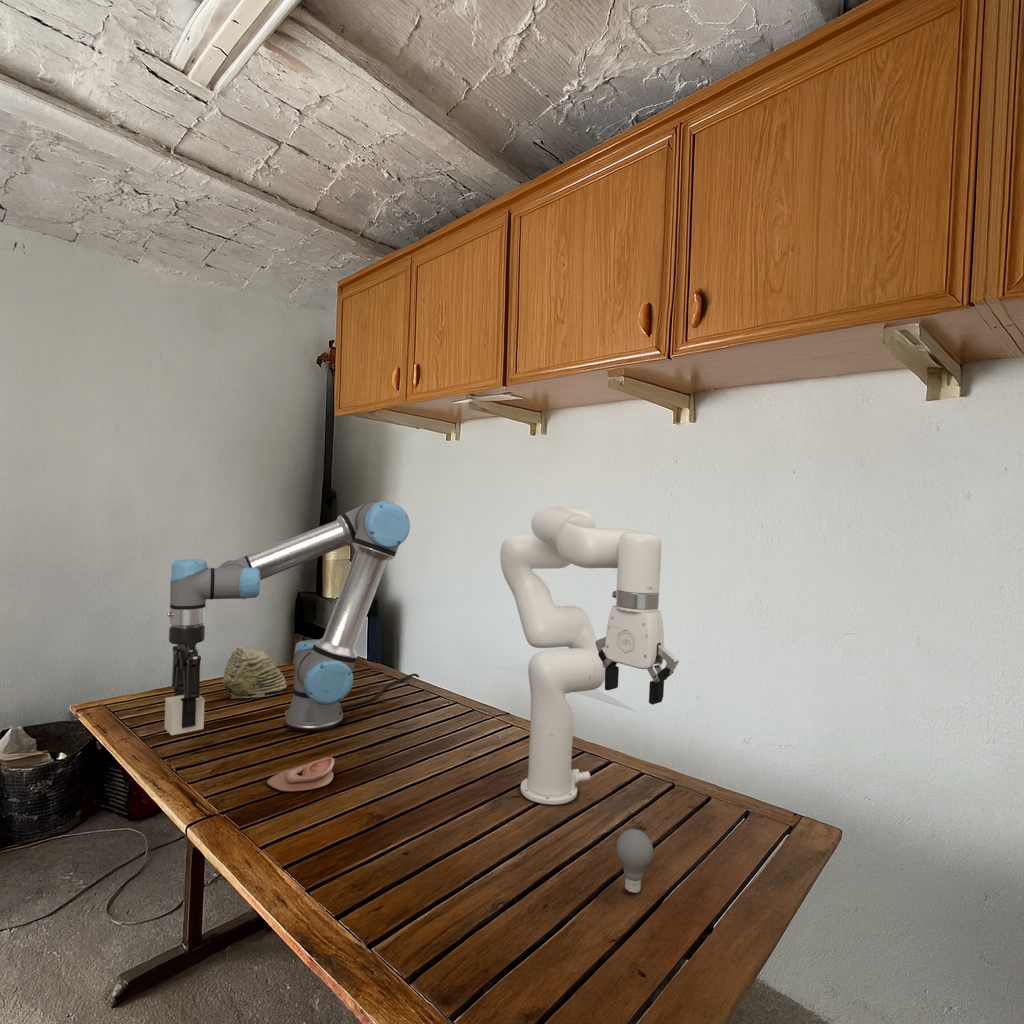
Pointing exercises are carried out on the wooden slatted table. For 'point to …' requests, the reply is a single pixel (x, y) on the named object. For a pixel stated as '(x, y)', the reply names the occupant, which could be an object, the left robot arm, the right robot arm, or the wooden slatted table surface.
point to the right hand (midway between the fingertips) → (632, 695)
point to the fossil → (252, 674)
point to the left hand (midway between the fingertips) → (184, 722)
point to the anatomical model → (304, 776)
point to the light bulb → (634, 857)
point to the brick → (175, 715)
